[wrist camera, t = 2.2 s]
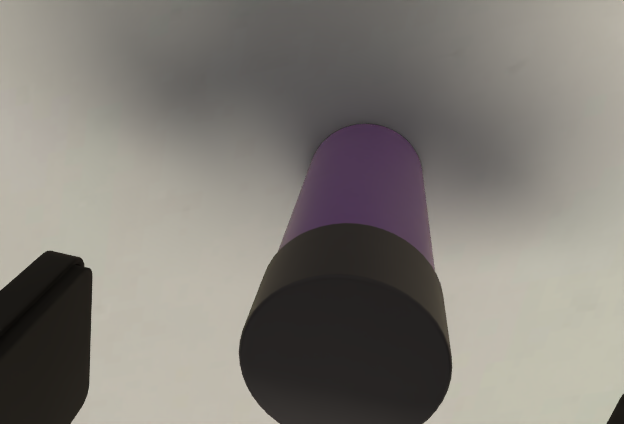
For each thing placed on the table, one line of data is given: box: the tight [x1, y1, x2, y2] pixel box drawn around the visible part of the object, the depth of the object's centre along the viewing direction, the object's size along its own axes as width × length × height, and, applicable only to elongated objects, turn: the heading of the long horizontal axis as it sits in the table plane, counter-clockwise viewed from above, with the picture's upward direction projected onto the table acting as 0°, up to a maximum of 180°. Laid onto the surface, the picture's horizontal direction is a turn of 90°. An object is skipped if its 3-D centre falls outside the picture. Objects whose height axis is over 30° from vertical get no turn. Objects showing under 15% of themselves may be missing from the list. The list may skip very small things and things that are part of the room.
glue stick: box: [239, 124, 452, 424], centre depth 14 cm, size 4×4×9 cm
